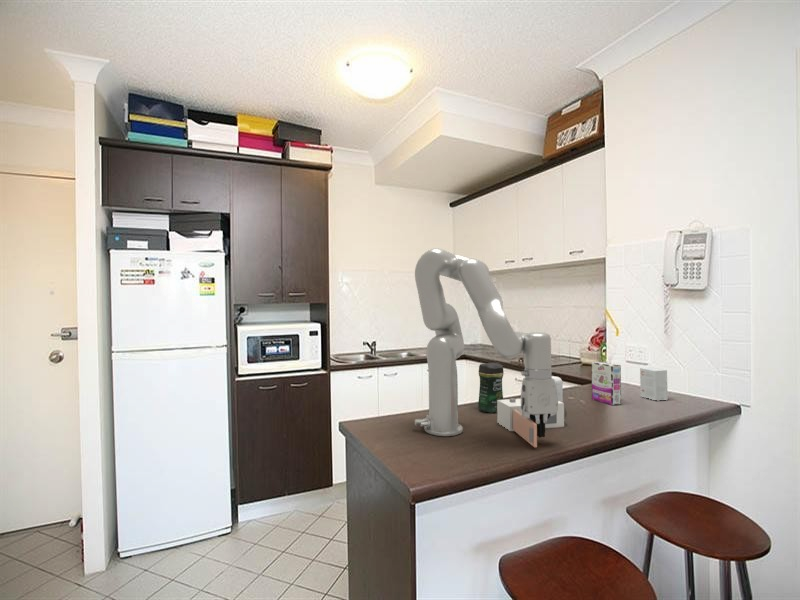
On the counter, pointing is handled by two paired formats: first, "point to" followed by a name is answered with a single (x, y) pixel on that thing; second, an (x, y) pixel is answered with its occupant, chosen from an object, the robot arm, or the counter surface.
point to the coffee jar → (490, 386)
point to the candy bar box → (606, 383)
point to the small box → (653, 383)
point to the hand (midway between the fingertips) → (539, 435)
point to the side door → (524, 427)
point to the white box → (506, 413)
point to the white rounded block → (559, 388)
